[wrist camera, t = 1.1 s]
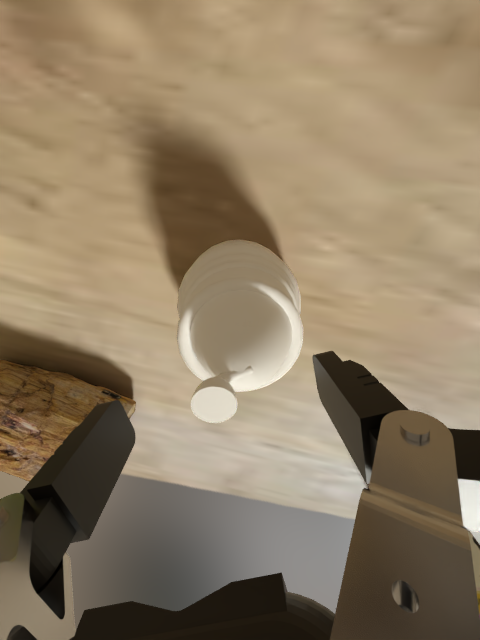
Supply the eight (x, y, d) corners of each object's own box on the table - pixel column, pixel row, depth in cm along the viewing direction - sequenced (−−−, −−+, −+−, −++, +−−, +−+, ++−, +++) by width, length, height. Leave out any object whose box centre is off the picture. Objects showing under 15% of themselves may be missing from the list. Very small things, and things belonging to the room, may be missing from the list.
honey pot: (218, 355, 33) (203, 495, 16) (164, 271, 28) (68, 348, 12) (305, 314, 31) (390, 427, 14) (263, 217, 26) (317, 218, 10)
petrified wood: (-16, 409, 35) (-106, 462, 25) (15, 331, 33) (-68, 355, 24) (114, 454, 38) (79, 516, 29) (147, 386, 37) (123, 427, 27)
